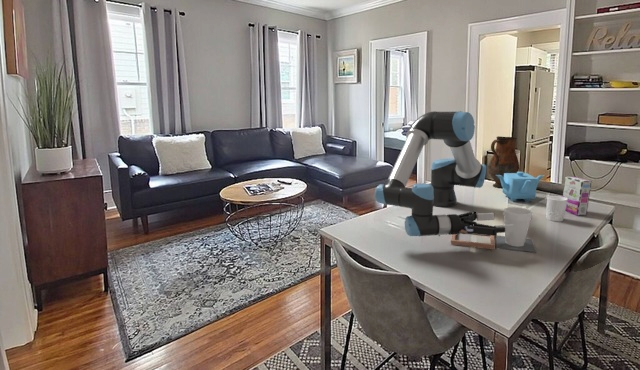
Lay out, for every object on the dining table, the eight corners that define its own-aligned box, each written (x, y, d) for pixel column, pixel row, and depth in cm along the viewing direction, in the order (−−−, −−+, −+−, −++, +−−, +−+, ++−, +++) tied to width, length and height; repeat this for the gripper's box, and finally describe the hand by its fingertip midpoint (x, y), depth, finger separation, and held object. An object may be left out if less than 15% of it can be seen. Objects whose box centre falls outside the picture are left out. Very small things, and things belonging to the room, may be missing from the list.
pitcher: (523, 186, 230) (528, 136, 223) (501, 192, 220) (506, 140, 213) (498, 181, 244) (502, 134, 237) (476, 186, 234) (480, 137, 227)
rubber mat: (496, 248, 144) (496, 247, 144) (495, 236, 155) (495, 235, 155) (536, 252, 139) (536, 251, 139) (531, 240, 151) (531, 239, 151)
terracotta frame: (450, 244, 149) (451, 240, 148) (453, 230, 162) (453, 227, 162) (494, 249, 143) (494, 245, 143) (493, 235, 157) (493, 231, 156)
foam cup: (504, 237, 153) (507, 205, 150) (530, 241, 148) (533, 209, 145) (499, 244, 146) (502, 212, 143) (526, 250, 141) (530, 216, 137)
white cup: (567, 222, 169) (570, 200, 167) (548, 221, 171) (550, 200, 168) (560, 216, 176) (563, 195, 174) (541, 216, 178) (544, 195, 176)
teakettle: (509, 192, 219) (511, 167, 216) (544, 199, 205) (547, 172, 201) (492, 198, 208) (494, 172, 205) (527, 206, 194) (530, 177, 190)
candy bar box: (587, 215, 177) (592, 181, 173) (577, 216, 177) (582, 181, 173) (570, 208, 188) (574, 175, 184) (560, 209, 188) (564, 176, 184)
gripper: (434, 223, 156) (485, 220, 158) (460, 247, 132) (520, 244, 133) (435, 205, 155) (487, 203, 156) (462, 226, 130) (522, 223, 132)
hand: (502, 222), depth 145 cm, fingers open, 13 cm apart
